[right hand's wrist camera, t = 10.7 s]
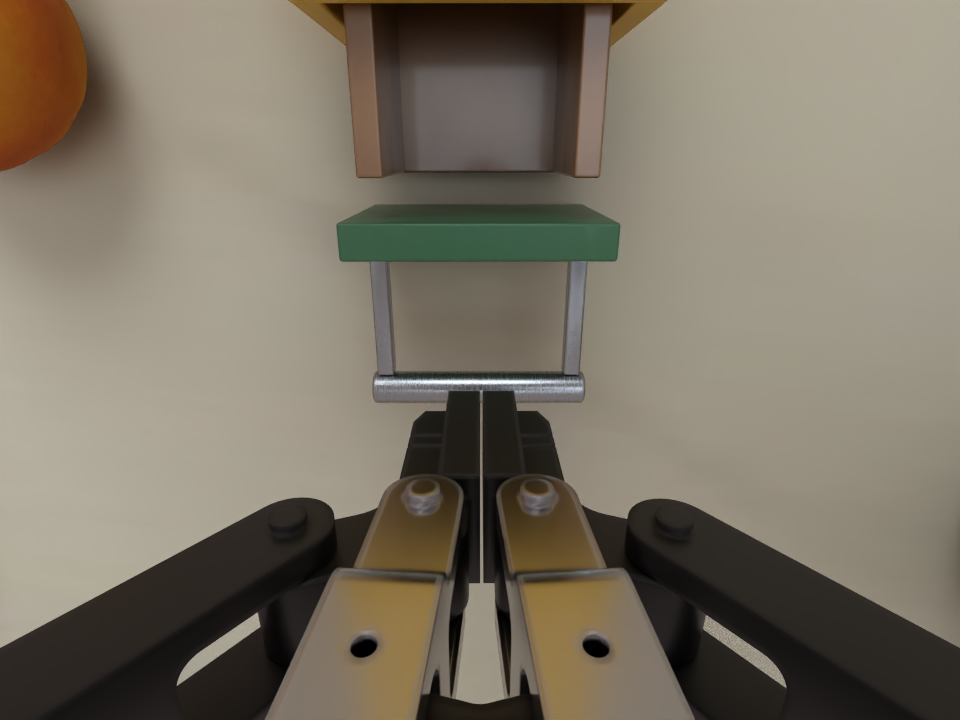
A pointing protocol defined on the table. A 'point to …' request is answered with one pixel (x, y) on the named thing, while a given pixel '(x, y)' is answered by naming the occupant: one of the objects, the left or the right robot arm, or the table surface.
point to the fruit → (38, 77)
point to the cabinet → (628, 3)
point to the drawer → (478, 158)
